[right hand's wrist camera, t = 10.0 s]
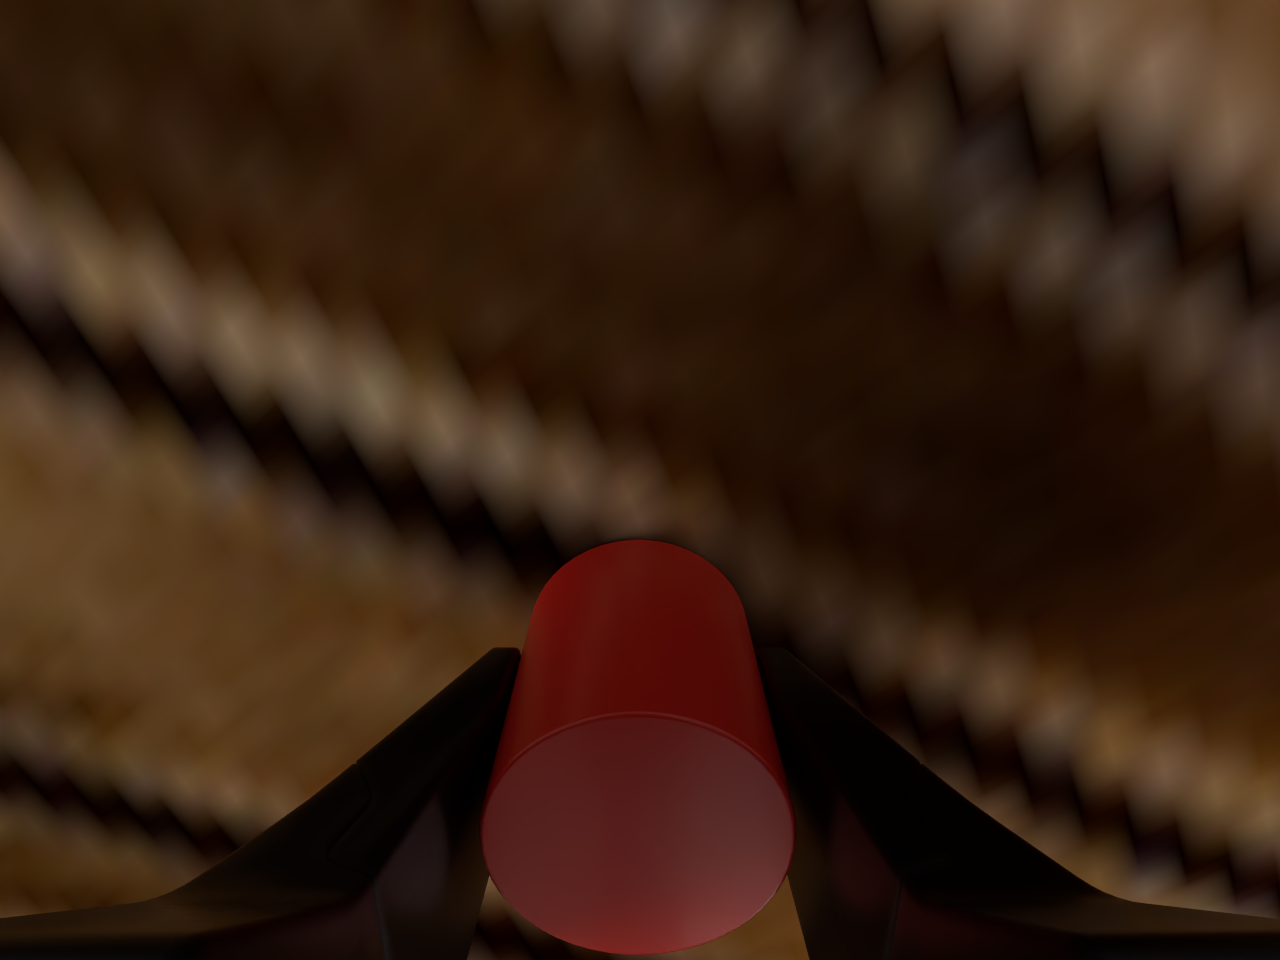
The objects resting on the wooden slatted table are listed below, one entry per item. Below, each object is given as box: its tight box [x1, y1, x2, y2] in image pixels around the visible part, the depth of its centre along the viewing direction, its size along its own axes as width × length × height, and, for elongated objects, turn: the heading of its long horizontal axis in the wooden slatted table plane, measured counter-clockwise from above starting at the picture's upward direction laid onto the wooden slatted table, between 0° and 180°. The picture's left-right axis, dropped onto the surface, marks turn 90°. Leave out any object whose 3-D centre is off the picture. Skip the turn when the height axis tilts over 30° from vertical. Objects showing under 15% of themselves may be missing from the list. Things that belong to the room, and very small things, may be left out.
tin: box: [479, 540, 797, 955], centre depth 11 cm, size 4×4×4 cm
